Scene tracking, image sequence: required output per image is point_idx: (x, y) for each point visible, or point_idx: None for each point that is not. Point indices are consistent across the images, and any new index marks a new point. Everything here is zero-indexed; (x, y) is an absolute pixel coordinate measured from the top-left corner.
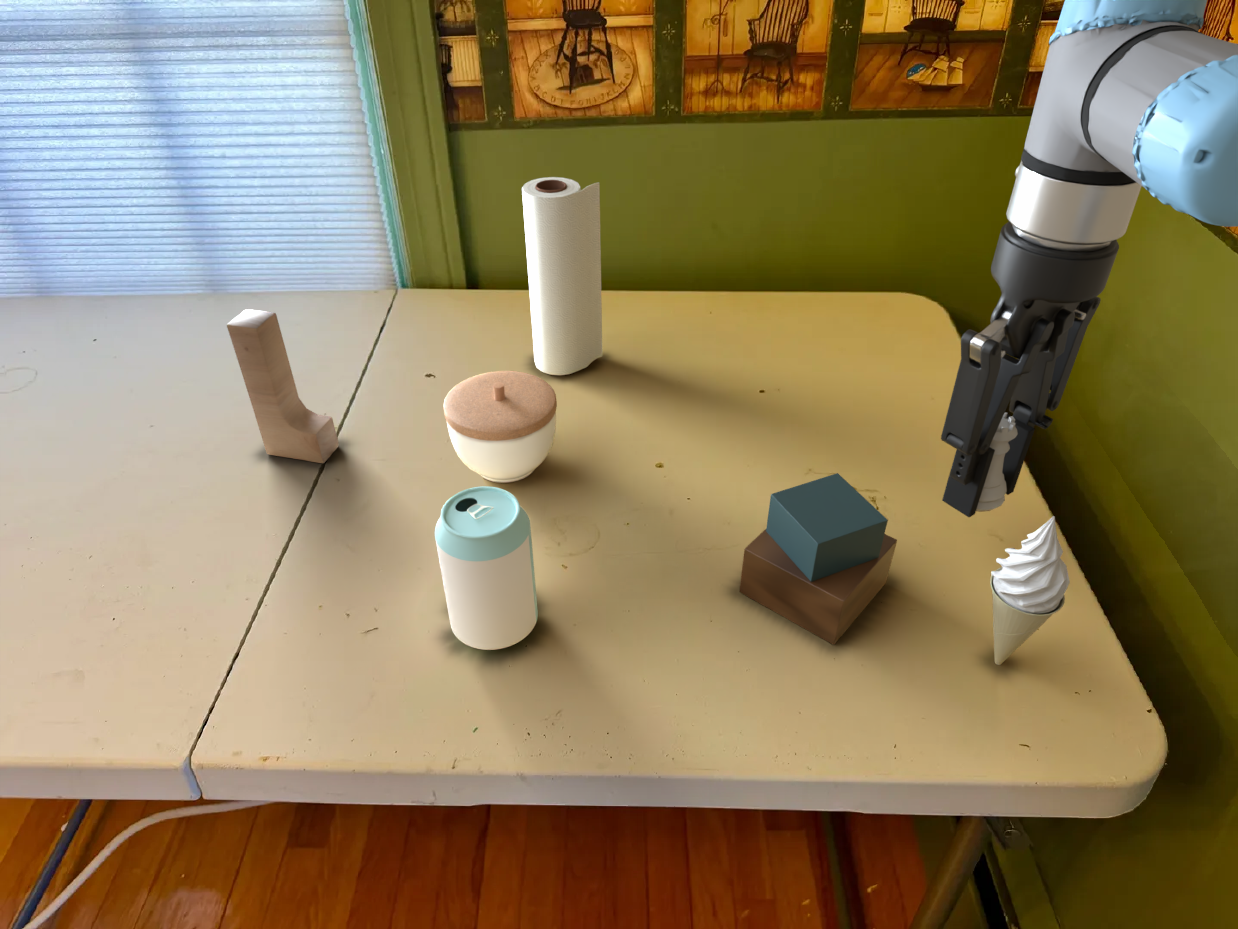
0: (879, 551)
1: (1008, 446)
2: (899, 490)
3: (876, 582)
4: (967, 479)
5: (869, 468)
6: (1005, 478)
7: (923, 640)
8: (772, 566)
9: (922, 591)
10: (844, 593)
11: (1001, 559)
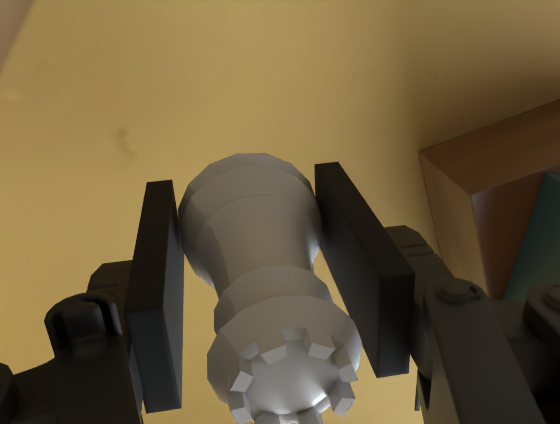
0: (558, 179)
1: (244, 284)
2: (201, 324)
3: (493, 146)
4: (407, 235)
5: (206, 387)
6: (173, 218)
7: (482, 5)
8: None
9: (380, 102)
10: None
11: None
